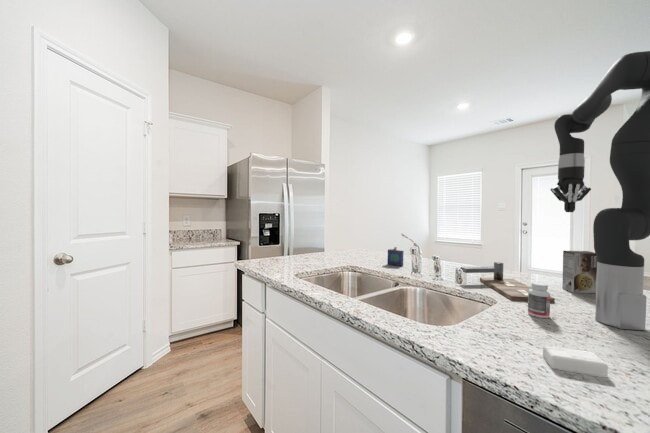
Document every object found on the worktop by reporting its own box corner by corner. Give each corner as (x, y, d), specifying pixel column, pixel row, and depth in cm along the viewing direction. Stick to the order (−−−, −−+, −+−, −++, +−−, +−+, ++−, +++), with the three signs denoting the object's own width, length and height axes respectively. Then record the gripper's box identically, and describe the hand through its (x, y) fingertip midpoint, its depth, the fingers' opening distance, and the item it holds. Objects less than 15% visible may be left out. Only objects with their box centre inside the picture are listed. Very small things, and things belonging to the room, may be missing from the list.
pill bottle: (551, 319, 82) (552, 287, 81) (529, 316, 84) (529, 284, 84) (547, 314, 86) (548, 283, 86) (526, 310, 89) (527, 280, 89)
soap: (593, 365, 58) (593, 351, 58) (609, 380, 53) (609, 364, 53) (541, 356, 61) (542, 343, 61) (552, 370, 56) (552, 355, 56)
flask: (403, 265, 160) (404, 247, 160) (402, 266, 157) (402, 247, 157) (388, 264, 164) (388, 246, 164) (386, 265, 162) (386, 246, 162)
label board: (554, 302, 97) (554, 297, 97) (511, 300, 99) (511, 295, 99) (512, 282, 125) (512, 278, 125) (479, 280, 127) (479, 277, 127)
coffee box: (584, 289, 115) (586, 250, 115) (598, 294, 109) (600, 253, 108) (561, 288, 116) (562, 250, 115) (573, 293, 109) (574, 252, 109)
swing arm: (465, 280, 120) (466, 264, 120) (460, 278, 124) (460, 262, 124) (505, 279, 122) (505, 263, 122) (498, 277, 126) (499, 262, 126)
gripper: (558, 165, 103) (557, 212, 103) (598, 165, 101) (597, 212, 101) (545, 168, 110) (544, 212, 111) (582, 168, 108) (581, 212, 109)
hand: (569, 212), depth 106 cm, fingers closed
